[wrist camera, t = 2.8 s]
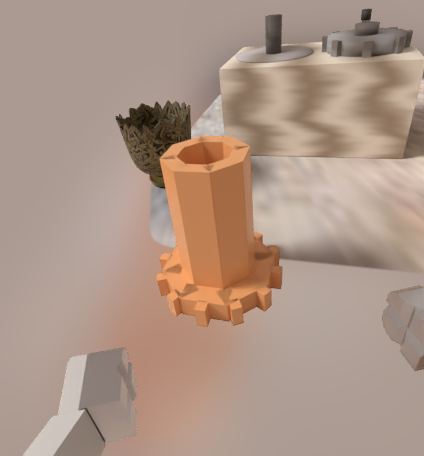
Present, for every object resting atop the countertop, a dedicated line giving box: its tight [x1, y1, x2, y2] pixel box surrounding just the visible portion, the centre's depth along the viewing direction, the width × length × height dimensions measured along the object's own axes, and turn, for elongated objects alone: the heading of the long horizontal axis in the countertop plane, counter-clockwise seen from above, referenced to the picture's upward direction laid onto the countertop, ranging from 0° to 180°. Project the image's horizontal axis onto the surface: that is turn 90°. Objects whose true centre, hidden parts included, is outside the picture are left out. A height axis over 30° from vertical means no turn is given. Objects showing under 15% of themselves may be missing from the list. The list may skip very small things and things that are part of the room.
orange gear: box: [156, 136, 282, 327], centre depth 23 cm, size 9×9×10 cm
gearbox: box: [219, 9, 424, 159], centre depth 42 cm, size 20×13×14 cm, turn 74°
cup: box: [116, 101, 191, 187], centre depth 37 cm, size 8×7×8 cm
